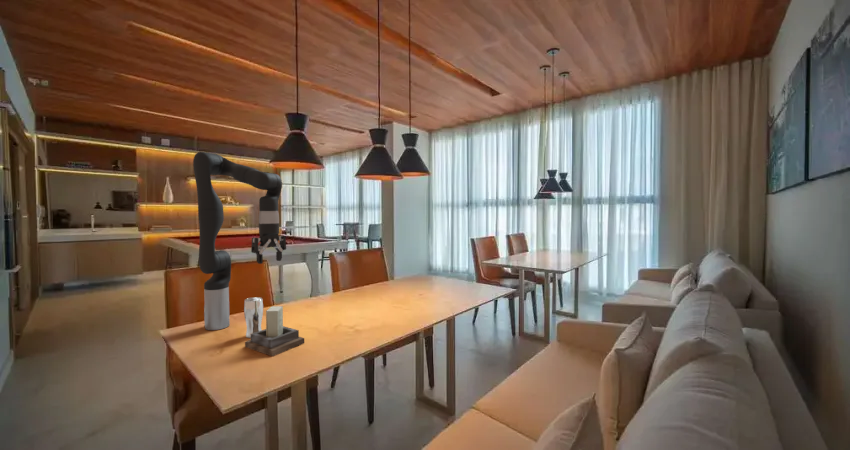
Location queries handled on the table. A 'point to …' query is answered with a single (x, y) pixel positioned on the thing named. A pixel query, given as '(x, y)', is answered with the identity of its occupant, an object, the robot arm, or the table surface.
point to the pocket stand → (274, 341)
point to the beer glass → (253, 314)
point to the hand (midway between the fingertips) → (269, 262)
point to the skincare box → (274, 321)
